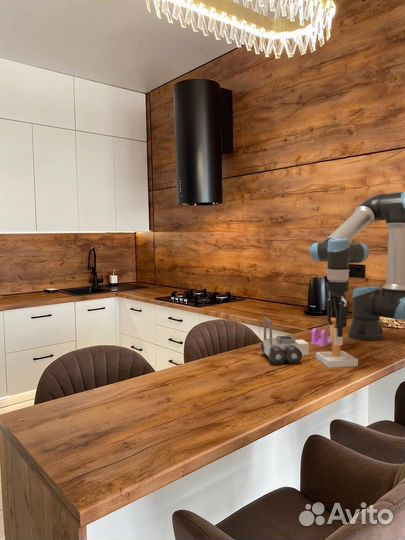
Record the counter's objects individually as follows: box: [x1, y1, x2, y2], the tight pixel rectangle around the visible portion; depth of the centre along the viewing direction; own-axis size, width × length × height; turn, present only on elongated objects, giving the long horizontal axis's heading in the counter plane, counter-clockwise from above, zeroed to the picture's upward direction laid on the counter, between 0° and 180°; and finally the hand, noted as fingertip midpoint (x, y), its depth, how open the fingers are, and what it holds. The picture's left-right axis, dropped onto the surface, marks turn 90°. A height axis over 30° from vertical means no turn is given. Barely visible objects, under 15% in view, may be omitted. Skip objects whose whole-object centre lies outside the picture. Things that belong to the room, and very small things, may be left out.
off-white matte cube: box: [295, 338, 310, 357], centre depth 166 cm, size 6×6×5 cm
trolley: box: [260, 316, 303, 366], centre depth 158 cm, size 12×14×16 cm
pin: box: [331, 317, 341, 357], centre depth 153 cm, size 4×4×14 cm
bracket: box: [311, 327, 332, 348], centre depth 181 cm, size 13×6×7 cm, turn 136°
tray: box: [315, 350, 359, 369], centre depth 154 cm, size 11×11×2 cm
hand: (336, 343), depth 153 cm, fingers closed on pin, 3 cm apart
